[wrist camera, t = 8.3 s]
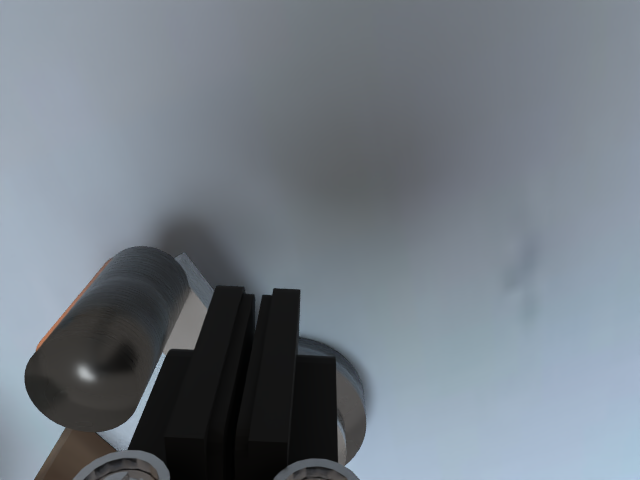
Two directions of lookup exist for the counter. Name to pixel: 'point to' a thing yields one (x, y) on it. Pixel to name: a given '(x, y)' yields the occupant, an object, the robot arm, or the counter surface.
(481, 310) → the counter surface
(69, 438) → the brown wooden u-shaped frame
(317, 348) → the crank base
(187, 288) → the crank
